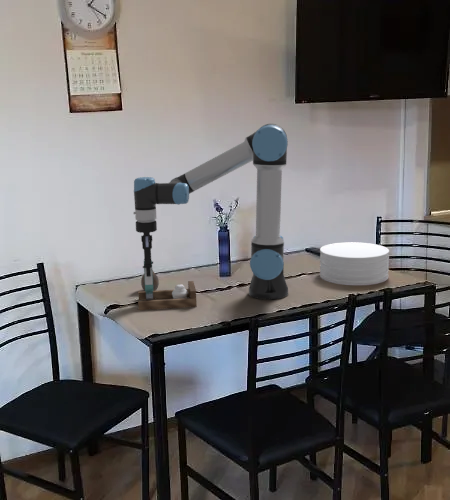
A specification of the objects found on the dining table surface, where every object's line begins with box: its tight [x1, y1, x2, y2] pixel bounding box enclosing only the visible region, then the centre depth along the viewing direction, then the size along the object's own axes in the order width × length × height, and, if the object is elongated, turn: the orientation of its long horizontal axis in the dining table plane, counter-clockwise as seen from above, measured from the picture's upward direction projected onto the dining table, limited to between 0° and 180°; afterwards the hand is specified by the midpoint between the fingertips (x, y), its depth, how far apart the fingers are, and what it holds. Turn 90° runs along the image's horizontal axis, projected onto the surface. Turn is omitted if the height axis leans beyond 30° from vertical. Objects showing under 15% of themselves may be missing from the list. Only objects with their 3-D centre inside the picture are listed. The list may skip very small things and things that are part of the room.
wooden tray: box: [137, 280, 198, 311], centre depth 257 cm, size 21×14×6 cm, turn 97°
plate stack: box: [319, 241, 390, 286], centre depth 287 cm, size 28×28×12 cm
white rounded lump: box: [172, 284, 188, 299], centre depth 257 cm, size 6×6×7 cm
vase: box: [140, 269, 160, 291], centre depth 273 cm, size 7×7×9 cm
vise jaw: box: [143, 259, 154, 301], centre depth 255 cm, size 3×10×16 cm, turn 7°
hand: (148, 282), depth 255 cm, fingers closed on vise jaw, 3 cm apart
